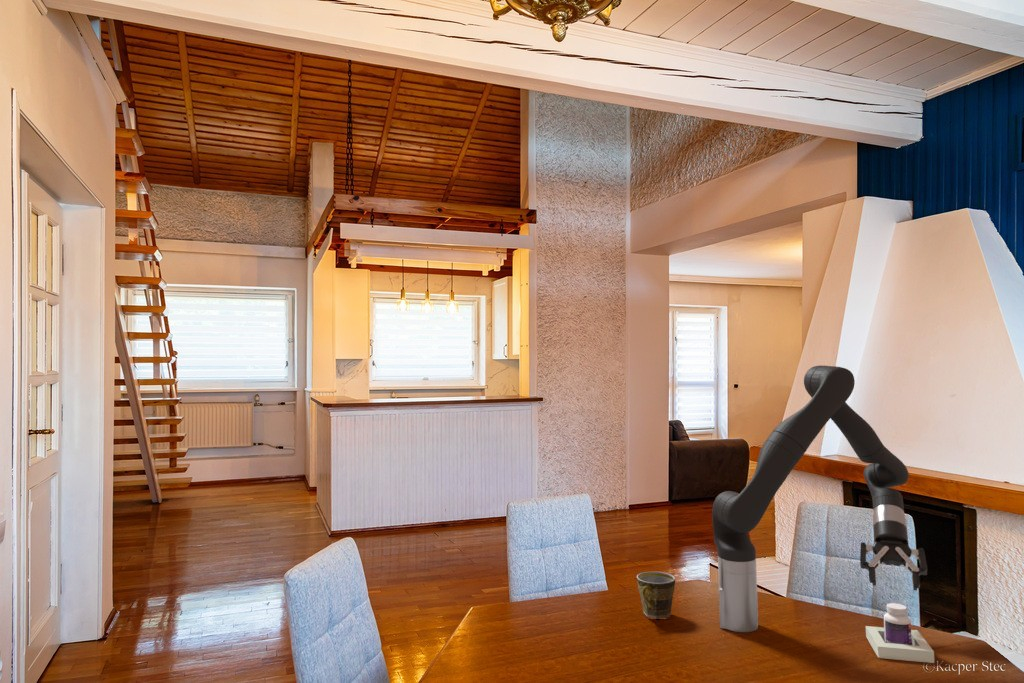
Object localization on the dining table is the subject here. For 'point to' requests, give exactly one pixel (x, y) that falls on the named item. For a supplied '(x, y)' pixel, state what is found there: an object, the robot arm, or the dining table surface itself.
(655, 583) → the ceramic cup
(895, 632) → the pill bottle
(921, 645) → the socket board
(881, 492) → the robot arm
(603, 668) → the dining table surface
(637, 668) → the dining table surface
